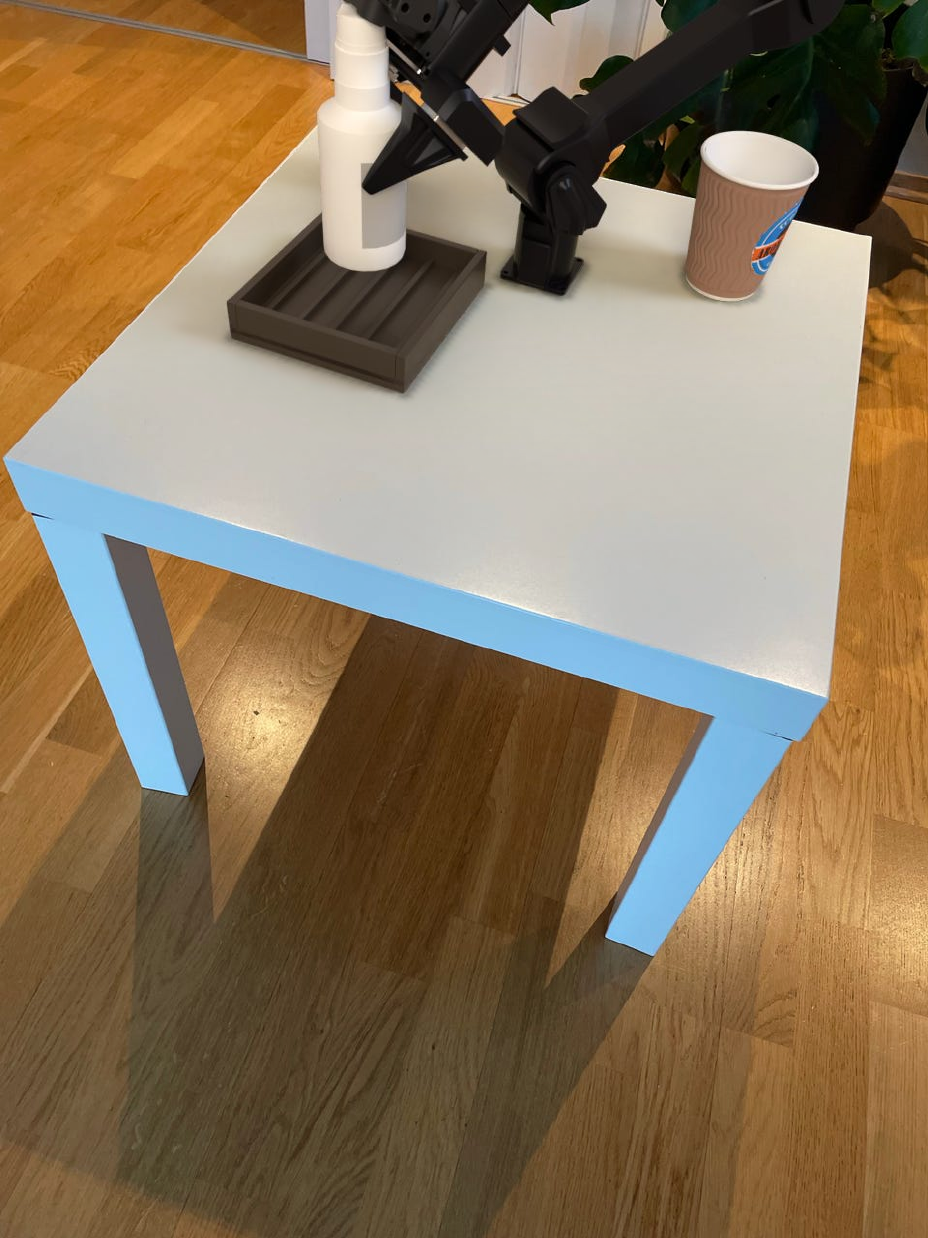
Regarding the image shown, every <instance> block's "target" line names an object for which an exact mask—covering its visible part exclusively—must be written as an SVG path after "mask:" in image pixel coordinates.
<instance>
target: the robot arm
mask: <svg viewBox="0 0 928 1238" xmlns="http://www.w3.org/2000/svg"><path fill="white" fill-rule="evenodd" d="M342 1H343V3H344V2H346V3H348V2H350V3H351V4H352V5H353V6H354V7H355V8H356V12H357V14H358V15H359V16H361V17H362V18H364V19H365V20H367V21H369V22H370V23H372V24H374V25H376V26H379V27H383V26H385V32H386V38H387V43H388V45H389V78H390V98H391V99H392V100H394V101H396V102H397V103H398V104H399V105H400V104H401V103H402V114H401V122H400V124H399V126H398V127H397V129H396V130H395V132H394V133H393V135H392V136H391V138H390V139H389V141H388V142H387V144H386V145H385V147H384V148H383V150H382V151H381V153H380V154H379V156H378V157H377V159H376V160H375V162H374V163H373V165H372V166H371V168H370V170H369V171H368V173H367V175H366V177H365V179H364V180H363V182H362V184H361V187H362V188H363V189H364V190H365V191H366V192H367V193H368V194H370V195H374V194H376V193H378V192H380V191H382V190H384V189H387V188H389V187H391V186H393V185H395V184H397V183H399V182H402V181H404V180H406V179H407V180H408V179H410V178H412V177H414V176H417V175H419V174H422V173H424V172H427V171H429V170H431V169H434V168H436V167H439V166H442V165H445V164H447V163H450V162H453V161H456V160H458V159H459V160H461V162H465V161H466V160H468V159H469V156H468V154H467V153H466V152H465V151H464V150H465V149H466V148H467V149H468V150H469V151H470V152H471V153H472V154H473V155H474V156H475V157H476V158H477V159H478V160H479V161H480V162H482V164H483V165H485V167H487V168H488V167H489V166H490V164H491V163H492V162H494V168H495V170H496V172H497V174H498V175H499V176H500V178H502V179H503V181H504V182H505V187H506V191H507V193H509V194H510V195H513V196H514V197H515V198H516V199H517V200H518V201H519V202H520V204H519V211H518V221H517V227H516V236H515V243H514V252H513V253H512V255H511V256H510V257H509V259H508V260H507V262H506V263H505V264H504V266H503V267H502V268H501V269H500V271H499V277H500V279H502V280H505V281H510V282H513V283H515V284H520V285H523V286H526V287H529V288H533V289H536V290H540V291H544V292H547V293H551V294H554V295H557V296H565V295H566V294H567V292H568V291H569V289H570V287H571V286H572V284H573V282H574V281H575V279H576V278H577V276H578V275H579V273H580V272H581V270H582V269H583V267H584V264H585V263H584V262H585V260H584V259H583V258H581V257H578V256H576V253H577V247H578V242H579V237H580V236H583V235H584V233H585V232H586V231H587V230H591V229H595V228H597V227H598V226H599V224H600V222H601V220H602V218H603V216H604V214H605V212H606V209H607V208H608V204H607V202H606V201H605V200H604V199H603V197H602V196H601V195H600V194H599V193H598V191H597V190H596V189H595V187H594V185H595V184H596V183H597V181H598V180H599V179H600V177H601V175H602V173H603V171H604V169H605V167H606V165H607V162H608V161H609V158H610V157H611V155H612V153H613V151H615V149H617V147H619V146H621V145H622V144H624V142H626V141H627V140H629V139H630V138H632V137H633V136H635V135H636V134H638V133H639V132H640V131H642V130H643V129H645V128H646V127H648V126H649V125H651V124H653V122H655V121H656V120H658V119H660V117H662V116H664V115H665V114H666V113H668V112H669V111H671V110H672V109H673V108H675V107H677V106H678V105H679V104H681V103H682V102H684V101H685V100H687V99H688V98H689V97H691V96H692V95H694V94H695V93H696V92H698V91H699V90H700V89H702V88H703V87H705V86H707V85H708V84H710V83H711V82H713V81H714V80H715V79H716V78H718V77H719V76H721V75H723V74H724V73H725V72H727V71H728V70H730V69H731V68H732V67H734V66H735V65H737V64H738V63H739V62H741V61H742V60H744V59H745V58H747V57H749V56H751V55H753V54H756V53H764V52H770V51H776V50H784V49H789V48H791V47H794V46H795V45H797V44H800V43H801V42H804V41H806V40H808V39H810V38H812V37H814V36H816V35H818V34H819V33H821V32H822V31H824V30H825V29H826V28H827V27H828V26H829V25H830V24H832V23H833V21H835V19H836V18H837V17H838V14H839V13H840V11H841V9H842V8H843V5H844V4H845V0H719V1H717V2H716V3H715V4H713V5H712V6H710V7H709V8H707V9H706V10H704V11H703V12H702V13H701V14H699V15H698V16H697V17H695V18H693V19H692V20H691V21H689V22H688V23H686V24H685V25H683V26H682V27H680V28H678V30H676V31H674V32H673V33H672V34H670V35H669V36H667V37H665V39H664V40H662V41H660V42H659V43H658V44H656V45H654V46H653V47H652V48H650V49H648V51H646V52H645V53H643V54H642V55H640V56H639V57H638V58H636V59H634V60H633V61H632V62H630V63H629V64H628V65H626V66H625V67H623V68H622V69H620V70H619V71H617V72H616V73H615V74H613V75H611V77H609V78H608V79H606V80H605V81H603V82H601V84H599V85H597V86H596V87H595V88H593V89H592V90H590V91H589V92H588V93H586V94H584V95H582V96H579V97H572V98H570V97H568V96H567V95H566V94H564V93H563V92H562V91H561V90H559V88H557V87H556V86H550V87H548V88H546V89H544V90H543V91H541V93H539V95H538V96H536V98H534V99H533V100H532V101H531V102H529V103H527V104H526V105H524V106H522V107H518V108H515V109H512V111H511V113H512V115H514V117H513V118H512V119H510V120H509V121H508V122H507V123H506V124H503V123H502V121H501V120H500V119H499V118H498V117H497V115H496V114H495V113H494V112H493V111H492V110H491V109H490V108H489V106H488V105H487V104H486V103H485V102H484V101H483V100H482V99H481V97H480V96H479V95H478V94H477V93H476V91H475V90H474V89H473V88H472V87H471V86H470V85H469V84H467V83H468V81H469V80H470V79H471V77H472V76H474V74H475V73H476V71H477V70H478V68H480V67H481V66H482V64H483V63H484V61H485V60H486V58H487V57H488V56H489V55H490V54H491V52H492V51H494V52H495V53H496V54H497V55H499V56H500V57H501V58H503V57H504V56H505V54H506V53H508V51H509V49H510V48H511V47H512V44H511V43H510V42H509V40H508V39H507V38H506V37H505V35H506V34H507V32H508V31H509V30H510V28H511V27H512V26H513V24H514V23H515V22H516V21H517V19H519V17H520V16H521V15H522V13H523V12H524V10H526V8H527V7H528V6H529V4H530V3H531V2H532V1H533V0H342ZM395 81H397V82H398V83H399V84H402V83H404V82H407V81H408V82H409V83H410V84H411V85H412V86H413V87H415V89H417V91H419V92H420V96H419V99H421V101H423V103H422V104H421V105H419V103H418V102H417V101H415V99H413V98H412V97H411V96H410V95H409V94H408V92H406V91H405V90H403V91H402V90H401V89H400V88H399V87H398V86H397V85H396V84H395Z"/></svg>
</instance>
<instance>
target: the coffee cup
mask: <svg viewBox="0 0 928 1238" xmlns="http://www.w3.org/2000/svg"><path fill="white" fill-rule="evenodd" d="M700 157H701V162H700V167H699V174H698V175H699V176H698V181H697V189H696V194H695V202H694V207H693V214H692V221H691V228H690V234H689V238H688V239H689V241H688V246H687V252H686V259H685V280H686V282H687V284H688V285H689V286H690V287H691V288H692V290H694V291H695V292H696V293H699V294H701V296H705V297H706V298H709V299H712V300H714V301H715V300H716V301H721V302H739V301H743V300H746V299H749V298H751V297H752V296H753V295H754V294H755V293H756V291H757V289H759V286H760V285H761V283H762V282H763V281H764V278H765V277H766V275H767V272H768V271H769V268H770V267H771V264H772V263H773V261H774V258H775V257H776V254H777V252H778V251H779V249H780V246H781V245H782V242H783V240H784V239H785V236H786V235H787V232H788V230H789V228H790V226H791V224H792V223H793V220H794V218H795V216H796V214H797V212H798V210H799V208H800V205H801V203H802V202H803V200H804V196H805V195H806V193H807V191H808V189H809V188H810V185H811V183H813V182H814V181H815V179H817V177H818V175H819V173H820V171H819V164H818V162H817V159H816V158H815V157H814V156H813V155H812V154H811V153H810V152H809V151H808V150H806V149H805V148H803V147H801V146H800V145H799V144H796V143H794V142H792V141H790V140H787V139H784V138H783V137H779V136H776V135H772V134H768V133H764V132H758V131H750V130H749V131H747V130H732V131H731V130H730V131H724V132H719V133H715V134H714V135H711V136H710V137H708V138H706V140H704V142H703V143H702V144H701V145H700Z"/></svg>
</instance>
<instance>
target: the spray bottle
mask: <svg viewBox="0 0 928 1238" xmlns="http://www.w3.org/2000/svg"><path fill="white" fill-rule="evenodd" d="M335 19H336V34H335V40H334V41H333V49H334V53H333V55H334V75H333V81H334V82H333V84H334V86H333V87H334V96H331V97H330V98H328V99H327V100H325V101H324V102H322V104H321V105H320V106H319V108H318V110H317V111H316V125H317V144H318V161H319V162H318V163H319V183H320V185H319V186H320V200H321V203H320V204H321V212H322V224H323V243H324V250H325V253H326V255H327V256H328V257H329V259H330V260H331V261H332V262H334V263H335V264H337V265H339V266H341V267H344V268H347V269H350V270H356V271H378V270H382V269H387V268H389V267H391V266H393V265H395V264H397V263H398V262H399V261H400V260H401V259H402V257H403V255H404V252H405V248H406V229H407V197H408V194H407V193H408V179H406V180H404V181H402V182H399V183H397V184H395V185H393V186H391V187H389V188H387V189H384V190H382V191H380V192H378V193H376V194H374V195H370V194H368V193H367V192H366V191H365V190H364V189H363V188H362V187H361V184H362V182H363V180H364V179H365V177H366V175H367V173H368V171H369V170H370V168H371V166H372V165H373V163H374V162H375V160H376V159H377V157H378V156H379V154H380V153H381V151H382V150H383V148H384V147H385V145H386V144H387V142H388V141H389V139H390V138H391V136H392V135H393V133H394V132H395V130H396V129H397V127H398V126H399V124H400V122H401V114H402V107H401V106H400V105H399V104H398V103H397V102H396V101H394V100H392V99H391V98H390V78H389V45H388V43H387V38H386V32H385V26H383V27H379V26H376V25H374V24H372V23H370V22H369V21H367V20H365V19H364V18H362V17H361V16H359V15H358V14H357V12H356V8H355V7H354V6H353V5H352V4H351V3H350V2H348V3H346V2H344V1H343V3H342V4H341V5H340V7H339V8H338V10H337V12H336V15H335Z"/></svg>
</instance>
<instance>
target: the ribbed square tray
mask: <svg viewBox="0 0 928 1238" xmlns="http://www.w3.org/2000/svg"><path fill="white" fill-rule="evenodd" d="M487 258H488V251H487V250H484V249H479V248H476V247H473V246H469V245H466V244H462V243H458V242H455V241H452V240H448V239H445V238H441V237H438V236H434V235H431V234H427V233H425V232H424V233H423V232H420V231H417V230H413V229H409V228H406V248H405V252H404V255H403V257H402V259H401V260H400V261H399V262H398V263H397V264H395V265H393V266H391V267H389V268H387V269H382V270H378V271H356V270H350V269H347V268H344V267H341V266H339V265H337V264H335V263H334V262H332V261H331V260H330V259H329V257H328V256H327V255H326V253H325V250H324V243H323V224H322V211H321V212H320V213H319V214H318V215H317V216H316V217H315V218H314V219H313V220H311V222H309V223H308V224H307V225H306V226H305V227H304V228H303V229H302V230H301V231H300V232H298V234H297V235H295V236H294V237H293V239H291V240H290V241H289V242H288V243H287V244H286V245H285V246H284V247H283V248H282V249H280V251H278V253H277V254H275V255H274V257H272V258H271V259H270V260H269V261H268V262H267V263H266V264H265V265H263V267H262V268H260V269H259V270H258V271H257V272H256V273H255V274H254V275H253V276H252V277H251V278H250V279H248V281H246V282H245V284H243V285H242V287H240V288H239V289H238V290H237V291H236V292H235V293H234V294H233V295H232V296H231V297H230V298H229V299H227V300H226V309H227V310H226V311H227V317H228V323H229V331H230V338H231V339H233V340H235V341H239V342H241V343H245V344H248V345H252V346H255V347H257V348H260V349H264V350H267V351H270V352H273V353H277V354H280V355H282V356H286V357H289V358H291V359H294V360H298V361H300V362H305V363H307V364H310V365H313V366H317V367H320V368H323V369H326V370H330V371H333V372H335V373H339V374H341V375H345V376H348V377H351V378H354V379H357V380H361V381H364V382H367V383H370V384H373V385H376V386H379V387H382V388H385V389H389V390H392V391H393V392H394V391H395V392H398V393H401V394H405V393H406V391H407V390H408V388H409V387H410V386H411V384H412V383H413V382H414V381H415V379H416V378H417V376H418V375H419V373H421V371H422V370H423V368H424V367H425V365H426V364H427V363H428V361H430V359H431V357H432V356H433V355H434V353H436V351H437V349H439V347H440V345H441V344H442V343H443V341H444V340H445V339H446V338H447V336H448V335H449V334H450V332H452V330H453V328H454V327H455V325H456V324H457V323H458V322H459V320H460V318H461V317H462V316H463V315H464V314H465V312H466V311H467V309H468V308H469V307H470V306H471V304H472V303H473V302H474V300H475V299H476V297H477V296H478V295H479V293H480V292H481V291H482V289H483V288H484V287H485V278H486V277H485V276H486V266H487Z"/></svg>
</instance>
